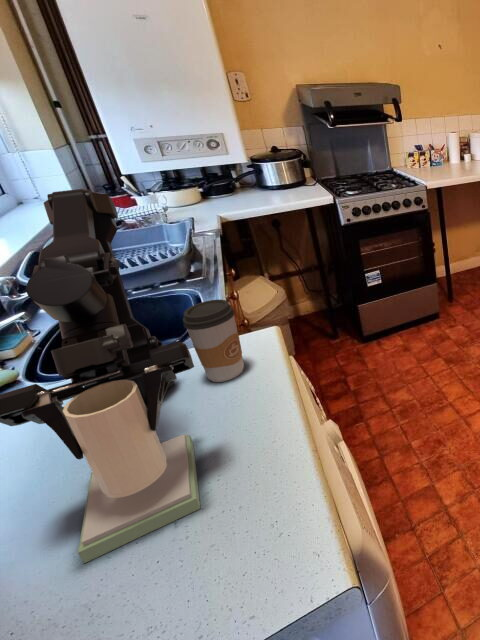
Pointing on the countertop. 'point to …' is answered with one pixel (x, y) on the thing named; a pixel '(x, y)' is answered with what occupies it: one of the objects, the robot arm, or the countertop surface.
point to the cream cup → (116, 437)
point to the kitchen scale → (141, 504)
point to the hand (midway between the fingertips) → (118, 444)
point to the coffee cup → (215, 339)
